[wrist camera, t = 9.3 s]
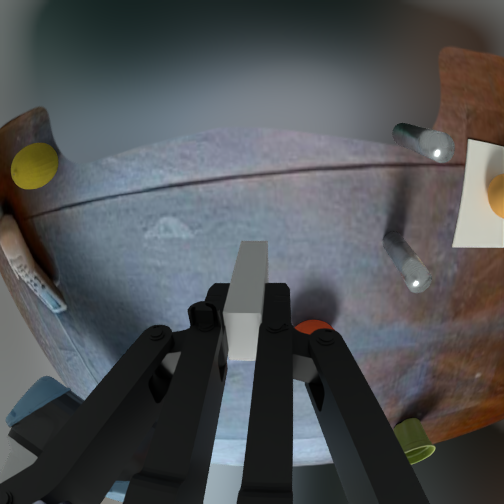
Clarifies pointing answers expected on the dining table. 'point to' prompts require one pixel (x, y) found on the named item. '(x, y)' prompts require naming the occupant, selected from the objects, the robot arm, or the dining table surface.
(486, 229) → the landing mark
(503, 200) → the ball
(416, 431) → the plant pot
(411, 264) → the post
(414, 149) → the post
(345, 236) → the dining table surface
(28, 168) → the lemon
